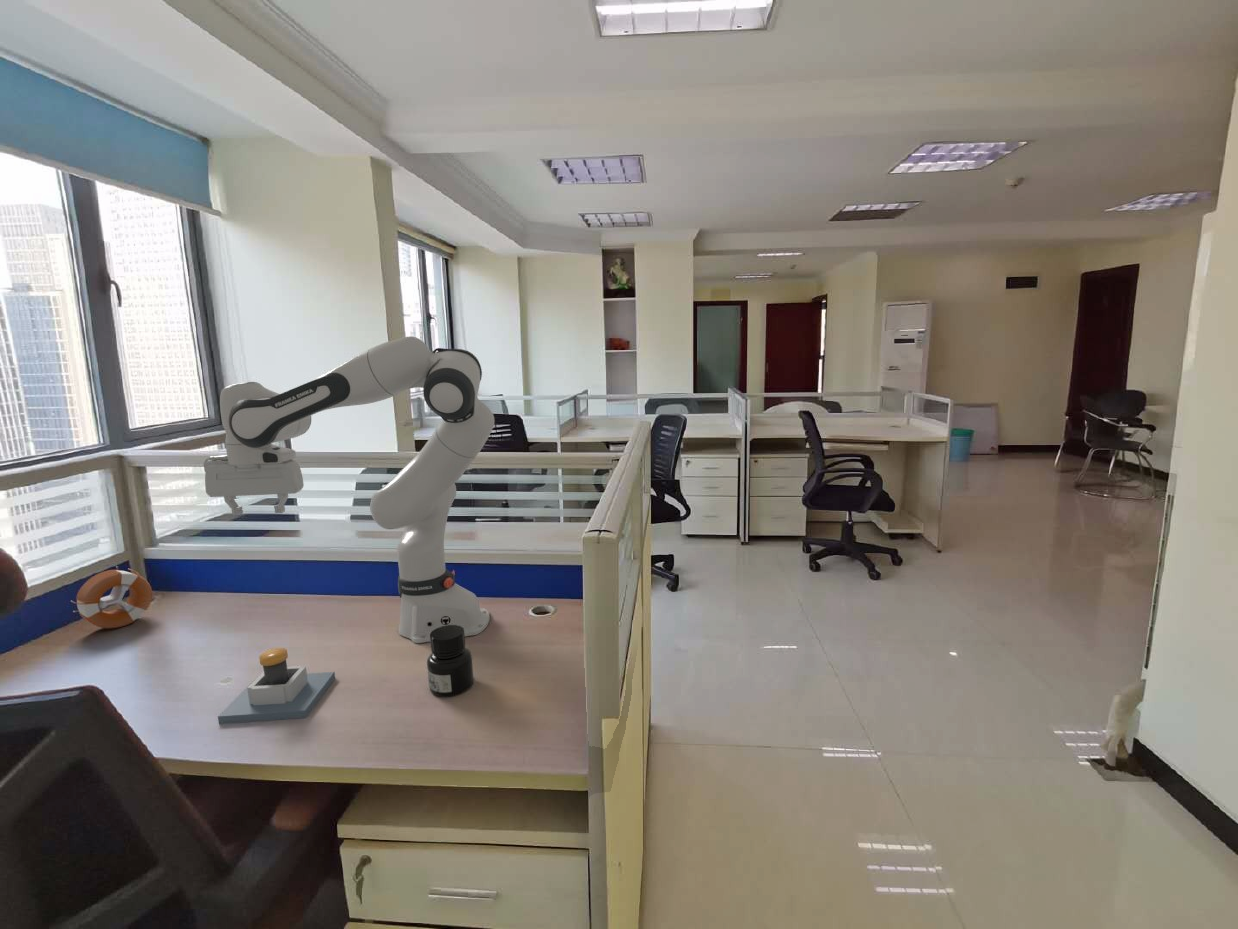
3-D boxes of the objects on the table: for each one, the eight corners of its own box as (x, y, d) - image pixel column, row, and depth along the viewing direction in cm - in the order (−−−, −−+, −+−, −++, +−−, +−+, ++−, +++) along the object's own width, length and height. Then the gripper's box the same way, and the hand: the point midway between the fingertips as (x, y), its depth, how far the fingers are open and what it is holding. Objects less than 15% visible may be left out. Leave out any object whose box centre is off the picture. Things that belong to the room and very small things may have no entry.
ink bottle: (422, 683, 123) (417, 630, 121) (462, 669, 128) (458, 618, 126) (439, 704, 115) (434, 648, 113) (481, 688, 120) (477, 634, 118)
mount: (335, 678, 126) (332, 656, 125) (305, 717, 112) (302, 694, 111) (258, 683, 125) (254, 661, 124) (218, 723, 111) (214, 699, 110)
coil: (157, 616, 160) (148, 565, 157) (87, 639, 148) (75, 584, 145) (147, 611, 164) (137, 560, 161) (77, 633, 151) (65, 579, 149)
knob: (296, 685, 121) (291, 647, 119) (285, 698, 116) (279, 659, 114) (272, 687, 120) (267, 648, 119) (260, 700, 116) (254, 661, 114)
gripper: (193, 458, 129) (203, 519, 131) (289, 455, 130) (297, 515, 133) (211, 454, 135) (220, 512, 138) (302, 450, 136) (309, 507, 139)
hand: (259, 513), depth 135 cm, fingers open, 8 cm apart
